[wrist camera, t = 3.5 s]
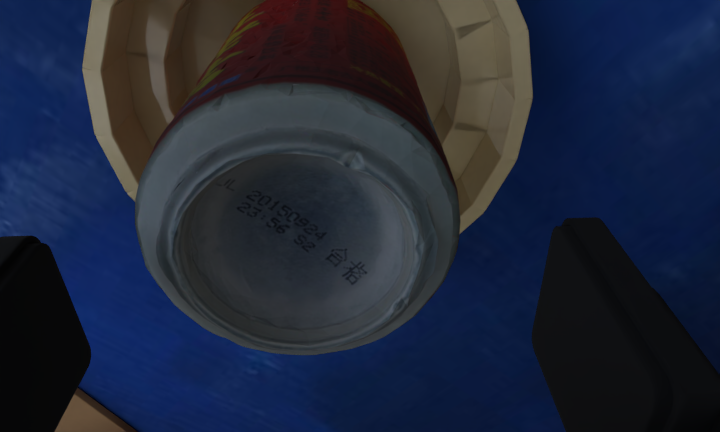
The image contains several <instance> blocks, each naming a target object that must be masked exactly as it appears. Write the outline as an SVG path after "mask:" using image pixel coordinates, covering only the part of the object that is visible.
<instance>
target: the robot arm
mask: <svg viewBox="0 0 720 432" xmlns="http://www.w3.org/2000/svg"><path fill="white" fill-rule="evenodd" d="M532 343H533V348H534V352H535V354H536V357H537V359H538V362H539V364H540V367H541V369H542V372H543V374H544V377H545V380H546V382H547V385H548V387H549V390H550V392H551V395H552V397H553V400H554V402H555V405H556V407H557V410H558V412H559V415H560V417H561V420H562V422H563V425H564V427H565V430H566V432H720V375H719V374H718V372H717V371H716V370H715V368H714V367H713V366H712V364H711V363H710V362H709V360H708V359H707V358H706V356H705V355H704V354H703V352H702V351H701V350H700V348H699V347H698V346H697V344H696V343H695V342H694V340H693V339H692V337H691V336H690V335H689V333H688V332H687V331H686V329H685V328H684V327H683V325H682V324H681V323H680V321H679V320H678V319H677V317H676V316H675V315H674V313H673V312H672V311H671V309H670V308H669V307H668V305H667V304H666V303H665V301H664V300H663V299H662V297H661V296H660V295H659V294H658V293H657V292H656V291H655V290H654V289H653V288H651V286H650V285H649V283H648V282H647V281H646V279H645V278H644V277H643V275H642V274H641V273H640V271H639V270H638V269H637V267H636V266H635V265H634V263H633V262H632V260H631V259H630V258H629V256H628V255H627V254H626V252H625V251H624V250H623V248H622V247H621V246H620V244H619V243H618V242H617V240H616V239H615V237H614V236H613V235H612V233H611V232H610V231H609V229H608V228H607V227H606V225H605V224H604V223H603V221H602V220H601V219H600V218H596V217H595V218H567V219H565V220H564V222H563V224H562V226H556V227H555V228H554V229H553V232H552V236H551V241H550V246H549V251H548V256H547V261H546V266H545V271H544V276H543V281H542V286H541V291H540V296H539V301H538V306H537V311H536V316H535V321H534V325H533V330H532ZM90 360H91V349H90V345H89V343H88V340H87V338H86V335H85V333H84V330H83V328H82V325H81V323H80V321H79V318H78V316H77V313H76V311H75V308H74V306H73V303H72V301H71V298H70V296H69V293H68V291H67V289H66V286H65V284H64V281H63V279H62V276H61V274H60V271H59V269H58V266H57V264H56V261H55V259H54V256H53V254H52V252H51V249H50V248H49V246H48V245H47V244H44V243H41V242H40V240H39V239H38V238H36V237H34V236H9V237H0V432H55V430H56V428H57V426H58V424H59V422H60V420H61V418H62V416H63V415H64V413H65V411H66V409H67V407H68V405H69V403H70V401H71V399H72V397H73V395H74V393H75V391H76V390H77V388H78V386H79V384H80V382H81V380H82V378H83V376H84V374H85V372H86V370H87V368H88V366H89V364H90Z"/></svg>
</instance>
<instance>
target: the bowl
mask: <svg viewBox="0 0 720 432" xmlns="http://www.w3.org/2000/svg"><path fill="white" fill-rule="evenodd" d="M264 1H266V0H92V4H91V11H90V18H89V24H88V31H87V38H86V44H85V51H84V58H83V65H82V66H83V68H82V71H83V76H84V82H85V87H86V92H87V97H88V102H89V107H90V113H91V118H92V123H93V128H94V133H95V135H96V138H97V140H98V142H99V143H100V145H101V147H102V149H103V151H104V153H105V155H106V156H107V158H108V160H109V162H110V164H111V166H112V167H113V169H114V171H115V173H116V175H117V177H118V178H119V180H120V182H121V184H122V186H123V188H124V189H125V191H126V192H128V193H127V194H128V195H129V196H130V197H131V198H132V199H133V200H134V201H135V198H136V194H137V189H138V185H139V181H140V177H141V175H142V173H143V170H144V168H145V166H146V164H147V161H148V159H149V157H150V155H151V153H152V150H153V148H154V146H155V144H156V142H157V140H158V139H159V137H160V136H161V134H162V133H163V131H164V130H165V128H166V127H167V126H168V125H169V124H170V122H171V121H172V120H173V119H174V117H175V115H176V114H177V112H178V111H179V109H180V108H181V106H182V104H183V103H184V101H185V100H186V98H187V97H188V95H189V94H190V93H191V92H192V91H193V89H194V88H195V86H196V84H197V81H198V80H199V78H200V77H201V75H202V74H203V73H204V71H205V70H206V69H207V67H208V65H209V64H210V63H211V61H212V60H213V59H214V57H215V56H216V54H217V53H218V51H219V50H220V48H221V47H222V45H223V43H224V42H225V40H226V39H227V37H228V36H229V34H230V33H231V31H232V29H233V28H234V27H235V25H236V24H237V23H238V22H239V21H240V19H241V18H242V17H243V16H244V15H246V14H247V13H248V12H249V11H250V10H251V9H252V8H254V7H255V6H257V5H259V4H261V3H263V2H264ZM359 1H361V2H363V3H365V4H366V5H367V6H369V7H370V8H372V9H373V10H374V11H375V12H377V13H378V14H379V15H380V16H381V17H382V18H383V19H384V20H385V21H386V22H387V23H388V24H389V25H390V26H391V27H392V29H393V30H394V32H395V33H396V35H397V36H398V38H399V40H400V42H401V44H402V46H403V48H404V51H405V53H406V56H407V58H408V61H409V64H410V66H411V68H412V71H413V73H414V76H415V78H416V81H417V84H418V87H419V90H420V93H421V95H422V98H423V100H424V103H425V105H426V108H427V111H428V114H429V116H430V119H431V121H432V124H433V126H434V128H435V131H436V133H437V136H438V138H439V140H440V143H441V145H442V147H443V151H444V154H445V155H446V158H447V161H448V164H449V167H450V169H451V172H452V175H453V178H454V181H455V184H456V187H457V191H458V199H459V209H460V232H459V234H460V233H461V232H463V231H464V230H465V229H466V228H467V227H468V226H469V225H470V224H472V223H473V222H474V221H475V220H476V219H477V218H478V217H479V216H481V215H482V214H483V213H484V211H485V210H486V209H487V207H488V206H489V204H490V202H491V201H492V199H493V198H494V196H495V194H496V193H497V191H498V190H499V188H500V187H501V185H502V183H503V182H504V180H505V179H506V177H507V175H508V174H509V172H510V171H511V169H512V167H513V166H514V164H515V163H516V160H517V158H518V154H519V150H520V146H521V142H522V139H523V135H524V131H525V127H526V123H527V119H528V116H529V112H530V108H531V104H532V98H533V88H532V73H531V58H530V43H529V31H528V27H527V24H526V22H525V20H524V17H523V15H522V12H521V10H520V8H519V5H518V3H517V1H516V0H359Z"/></svg>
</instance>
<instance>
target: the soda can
mask: <svg viewBox="0 0 720 432" xmlns="http://www.w3.org/2000/svg"><path fill="white" fill-rule="evenodd" d="M135 226H136V231H137V235H138V240H139V244H140V247H141V251H142V254H143V258H144V261H145V265H146V267H147V269H148V270H149V272H150V273H151V275H152V276H153V278H154V279H155V281H156V282H157V284H158V285H159V287H160V288H161V289H163V291H164V292H165V293H166V295H167V296H168V297H169V298H170V300H171V301H172V302H173V303H174V304H175V305H176V306H177V307H178V308H179V309H180V310H181V311H183V312H184V313H185V314H186V315H188V316H189V317H190V318H191V319H193V320H194V321H195V322H197V323H198V324H199V325H200V326H202V327H203V328H205V329H206V330H208V331H210V332H212V333H214V334H216V335H218V336H221V337H226V338H228V339H229V340H231V341H233V342H235V343H237V344H239V345H241V346H244V347H248V348H252V349H257V350H261V351H266V352H271V353H279V354H292V355H316V354H323V353H330V352H336V351H341V350H347V349H352V348H355V347H358V346H361V345H365V344H368V343H371V342H373V341H375V340H378V339H380V338H382V337H384V336H386V335H387V334H389V333H390V332H392V331H393V330H395V329H396V328H398V327H400V326H401V325H403V324H404V323H406V322H407V321H408V320H410V319H411V318H412V317H414V316H415V315H416V314H417V313H418V312H419V311H420V310H421V308H422V307H423V306H424V305H425V304H426V303H427V302H428V301H429V299H430V298H431V297H432V296H433V295H434V293H435V292H436V291H437V290H438V288H439V287H440V286H441V284H442V283H443V282H444V280H445V278H446V275H447V273H448V271H449V269H450V266H451V264H452V262H453V260H454V257H455V254H456V252H457V248H458V241H459V232H460V209H459V199H458V191H457V187H456V184H455V181H454V178H453V175H452V172H451V169H450V167H449V164H448V161H447V158H446V155H445V154H444V151H443V147H442V145H441V143H440V140H439V138H438V136H437V133H436V131H435V128H434V126H433V124H432V121H431V119H430V116H429V114H428V111H427V108H426V105H425V103H424V100H423V98H422V95H421V93H420V90H419V87H418V84H417V81H416V78H415V76H414V73H413V71H412V68H411V66H410V64H409V61H408V58H407V56H406V53H405V51H404V48H403V46H402V44H401V42H400V40H399V38H398V36H397V35H396V33H395V32H394V30H393V29H392V27H391V26H390V25H389V24H388V23H387V22H386V21H385V20H384V19H383V18H382V17H381V16H380V15H379V14H378V13H377V12H375V11H374V10H373V9H372V8H370V7H369V6H367V5H366V4H365V3H363V2H361V1H359V0H266V1H264V2H263V3H261V4H259V5H257V6H255V7H254V8H252V9H251V10H250V11H249V12H248V13H247V14H246V15H244V16H243V17H242V18H241V19H240V21H239V22H238V23H237V24H236V25H235V27H234V28H233V29H232V31H231V33H230V34H229V36H228V37H227V39H226V40H225V42H224V43H223V45H222V47H221V48H220V50H219V51H218V53H217V54H216V56H215V57H214V59H213V60H212V61H211V63H210V64H209V65H208V67H207V69H206V70H205V71H204V73H203V74H202V75H201V77H200V78H199V80H198V81H197V84H196V86H195V88H194V89H193V91H192V92H191V93H190V94H189V95H188V97H187V98H186V100H185V101H184V103H183V104H182V106H181V108H180V109H179V111H178V112H177V114H176V115H175V117H174V119H173V120H172V121H171V122H170V124H169V125H168V126H167V127H166V128H165V130H164V131H163V133H162V134H161V136H160V137H159V139H158V140H157V142H156V144H155V146H154V148H153V150H152V153H151V155H150V157H149V159H148V161H147V164H146V166H145V168H144V170H143V173H142V175H141V177H140V181H139V185H138V189H137V194H136V198H135Z"/></svg>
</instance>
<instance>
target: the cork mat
mask: <svg viewBox="0 0 720 432" xmlns="http://www.w3.org/2000/svg"><path fill="white" fill-rule="evenodd" d="M55 432H137V431H136V430H134V429H133V428H132V427H130V426H129V425H128V424H126V423H125V422H124V421H122V420H121V419H119V418H118V417H117V416H115V415H114V414H113V413H111V412H110V411H109V410H107V409H106V408H104V407H103V406H102V405H100V404H99V403H98V402H96V401H95V400H94V399H92V398H91V397H90V396H88V395H87V394H85V393H84V392H83V391H81V390H80V389H79V388H77V390H76V391H75V393H74V395H73V397H72V399H71V401H70V403H69V405H68V407H67V409H66V411H65V413H64V415H63V416H62V418H61V420H60V422H59V424H58V426H57V428H56V430H55Z"/></svg>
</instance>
